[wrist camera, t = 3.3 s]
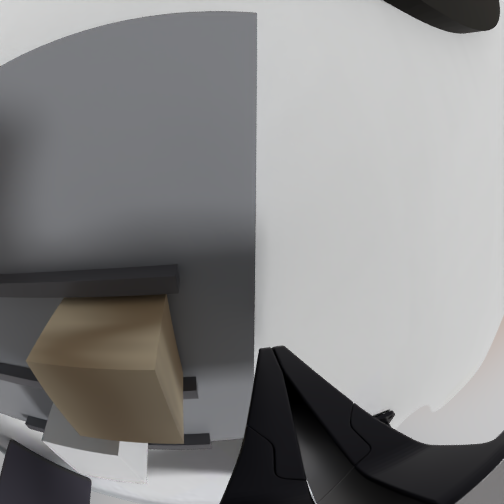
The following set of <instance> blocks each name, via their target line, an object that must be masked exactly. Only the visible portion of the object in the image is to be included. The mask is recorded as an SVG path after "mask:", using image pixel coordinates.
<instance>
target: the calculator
mask: <svg viewBox="0 0 504 504" xmlns="http://www.w3.org/2000/svg"><path fill="white" fill-rule="evenodd" d="M90 493H91V480H90V479H89V478H87V477H84V476H82V475H80V474H77V473H75V472H72V471H70V470H68V469H66V468H64V467H61V466H59V465H57V464H55V463H53V462H51V461H49V460H47V459H45V458H43V457H41V456H40V455H38V454H36V453H34V452H32V451H31V450H29V449H27V448H25V447H24V446H22V445H20V444H19V443H17V442H16V441H14V440H10V442H9V445H8V448H7V451H6V455H5V459H4V463H3V466H2V471H1V475H0V504H90Z"/></svg>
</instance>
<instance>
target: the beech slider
mask: <svg viewBox="0 0 504 504" xmlns="http://www.w3.org/2000/svg"><path fill="white" fill-rule="evenodd" d="M26 362H27V364H28V366H29V367H30V369H31V371H32V372H33V374H34V375H35V377H36V378H37V380H38V381H39V383H40V384H41V386H42V387H43V389H44V390H45V392H46V393H47V394H48V396H49V397H50V399H51V400H52V401H53V403H54V404H55V405H56V407H57V408H58V409H59V411H60V412H61V413H62V414H63V416H64V417H65V418H66V419H67V421H68V422H69V423H70V424H71V425H72V427H73V428H74V429H75V430H76V431H77V432H78V434H79V435H80V436H85V437H91V438H98V439H105V440H114V441H124V442H136V443H157V444H184V426H183V370H182V366H181V362H180V357H179V353H178V349H177V344H176V339H175V335H174V330H173V325H172V320H171V315H170V309H169V304H168V298H167V294H159V295H139V296H113V297H71V298H63V300H62V301H61V303H60V304H59V306H58V307H57V309H56V310H55V312H54V314H53V315H52V317H51V318H50V320H49V321H48V323H47V325H46V326H45V328H44V330H43V331H42V333H41V335H40V336H39V338H38V340H37V341H36V343H35V345H34V347H33V348H32V350H31V352H30V354H29V356H28V358H27V359H26Z"/></svg>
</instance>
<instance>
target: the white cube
mask: <svg viewBox="0 0 504 504" xmlns="http://www.w3.org/2000/svg"><path fill="white" fill-rule="evenodd" d="M42 441H43V442H44V443H45V444H46V445H47V446H48V447H49V448H50V449H51V450H52V451H53V452H55V453H56V454H57V455H58V456H59V457H60V458H61V459H62V460H64V461H65V462H66V463H67V464H68V465H70V466H71V467H72V468H73V469H74V470H76V471H77V472H78V473H80V474H82V475H87V476H92V477H97V478H102V479H108V480H114V481H121V482H129V483H138V484H147V458H148V443H136V442H124V441H114V440H105V439H98V438H91V437H85V436H80V435H79V434H78V432H77V431H76V430H75V429H74V428H73V427H72V425H71V424H70V423H69V422H68V421H67V419H66V418H65V417H64V416H63V414H62V413H61V412H60V411H59V409H58V408H57V407H56V405H55V404H54V403H53V405H52V408H51V411H50V414H49V417H48V420H47V424H46V427H45V430H44V434H43V437H42Z"/></svg>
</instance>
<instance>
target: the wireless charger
mask: <svg viewBox="0 0 504 504" xmlns="http://www.w3.org/2000/svg"><path fill="white" fill-rule="evenodd" d="M384 1H386V2H387V3H389V4H391V5H392V6H394V7H396V8H398V9H400V10H401V11H403V12H405V13H407V14H409V15H411V16H412V17H414V18H416V19H418V20H420V21H422V22H424V23H427V24H429V25H431V26H433V27H436V28H439V29H441V30H445V31H448V32H453V33H460V34H461V33H471V32H479V31H487V30H490V29H493V28H494V27H495V26H496V25H497V23H498V21H499V16H500V5H499V0H384Z"/></svg>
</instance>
